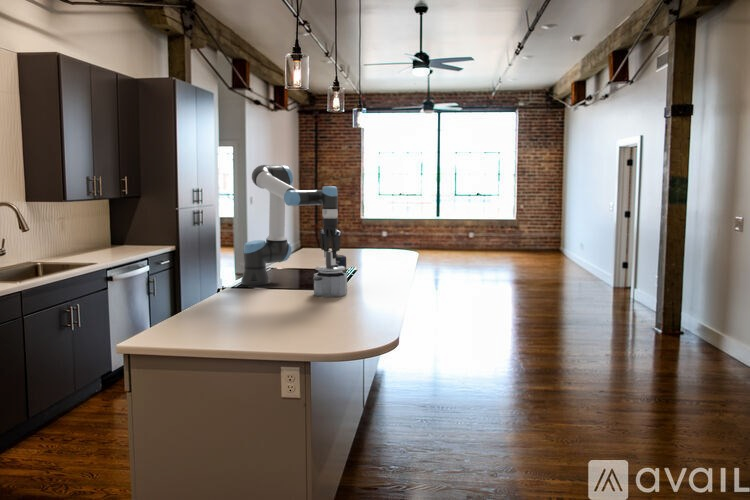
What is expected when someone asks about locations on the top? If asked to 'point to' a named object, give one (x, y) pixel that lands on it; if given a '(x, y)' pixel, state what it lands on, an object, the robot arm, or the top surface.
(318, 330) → the top surface
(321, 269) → the lid
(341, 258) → the canister
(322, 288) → the cooker pot
